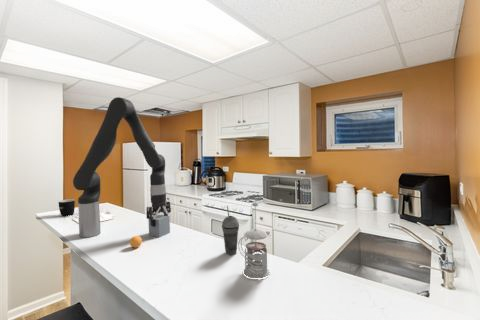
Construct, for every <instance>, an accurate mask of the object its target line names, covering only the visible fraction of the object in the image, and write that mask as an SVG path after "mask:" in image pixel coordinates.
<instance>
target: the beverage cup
mask: <svg viewBox="0 0 480 320" xmlns="http://www.w3.org/2000/svg"><path fill="white" fill-rule="evenodd" d="M226 209H227V216H226V217H224V218H223V220H222V223H221V224H222V225H221V228H222V233H223V244H224V251H225V255H227V256H234V255H236V254H237V250H238V237H239V236H238V235H239V229H240V223H239V220H238V218H237V217H235V216H233V215H230V212H229V205H226Z"/></svg>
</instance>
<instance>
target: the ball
mask: <svg viewBox="0 0 480 320" xmlns="http://www.w3.org/2000/svg"><path fill="white" fill-rule="evenodd" d="M142 243H143V240H142V237H141V236H138V235H135V236H132V237H131V238H130V240H129V245H130V246H131V247H132V248H133V249H134V248H136V249H137V248H139V247H140V246H141V245H142Z"/></svg>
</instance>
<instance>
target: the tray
mask: <svg viewBox="0 0 480 320" xmlns="http://www.w3.org/2000/svg"><path fill="white" fill-rule="evenodd" d="M75 216H76V217H74V218H72V220H73V221H74V222H75V223H77V224H79V214H77V215H75ZM112 216H114V217H115V215H114V214H111V212H110V211H109V210H108V209H107V210H106V211H105V212H100V222H103V221H108V220H113V217H112ZM101 218H103V219H101Z"/></svg>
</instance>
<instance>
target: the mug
mask: <svg viewBox="0 0 480 320" xmlns="http://www.w3.org/2000/svg"><path fill="white" fill-rule="evenodd" d="M75 201H76V200H75V199H71V198H69V199H63V200H59V201H58V210H59V214H60V216H61V217H69V216H68V215H71V216H73V215H74V213H75V209H76V205H75V203H76V202H75ZM72 214H73V215H72Z"/></svg>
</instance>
